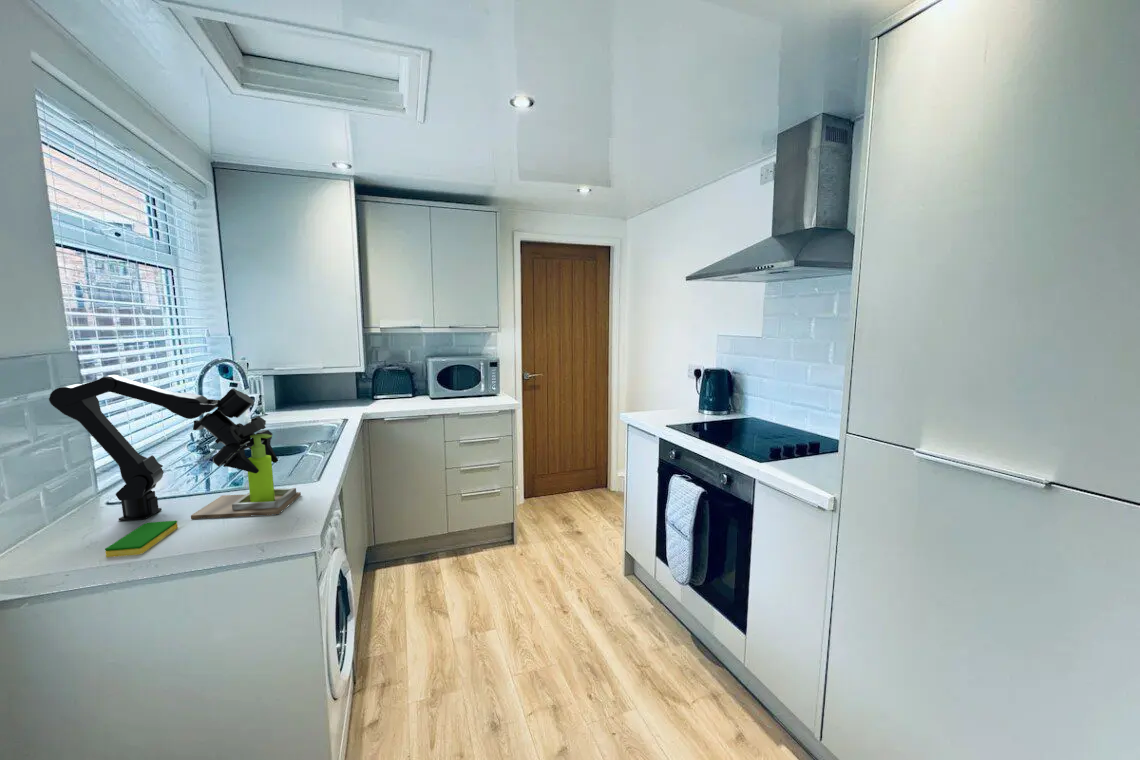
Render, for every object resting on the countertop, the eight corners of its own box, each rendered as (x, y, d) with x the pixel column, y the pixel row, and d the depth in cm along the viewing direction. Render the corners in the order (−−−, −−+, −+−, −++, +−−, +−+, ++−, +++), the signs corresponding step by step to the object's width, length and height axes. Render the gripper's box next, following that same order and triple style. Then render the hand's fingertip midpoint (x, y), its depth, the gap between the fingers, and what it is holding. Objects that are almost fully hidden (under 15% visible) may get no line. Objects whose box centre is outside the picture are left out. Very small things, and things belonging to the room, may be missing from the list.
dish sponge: (105, 559, 105) (103, 549, 104) (146, 531, 118) (145, 522, 118) (141, 556, 106) (140, 546, 106) (178, 528, 120) (177, 520, 119)
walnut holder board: (191, 518, 124) (189, 509, 124) (222, 498, 138) (221, 490, 138) (278, 514, 127) (277, 505, 127) (300, 495, 141) (300, 487, 140)
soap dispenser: (268, 505, 130) (262, 437, 128) (245, 505, 131) (239, 436, 128) (282, 497, 136) (277, 432, 133) (260, 497, 137) (254, 431, 134)
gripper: (220, 417, 121) (266, 457, 123) (263, 403, 139) (303, 438, 141) (192, 446, 121) (239, 486, 123) (239, 429, 140) (279, 463, 142)
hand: (267, 466), depth 132 cm, fingers open, 9 cm apart
